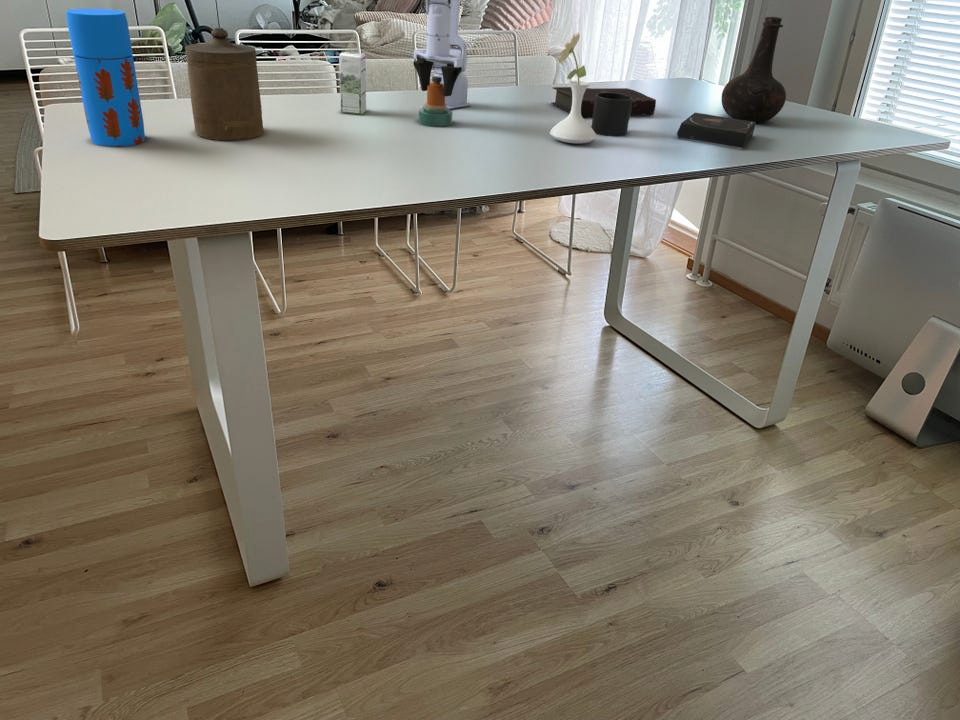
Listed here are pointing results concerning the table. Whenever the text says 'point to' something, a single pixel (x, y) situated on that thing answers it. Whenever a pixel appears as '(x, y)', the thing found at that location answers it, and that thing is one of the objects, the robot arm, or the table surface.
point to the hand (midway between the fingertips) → (436, 93)
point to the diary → (639, 100)
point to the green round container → (435, 115)
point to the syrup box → (352, 82)
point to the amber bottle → (435, 92)
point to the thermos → (106, 76)
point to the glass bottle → (757, 82)
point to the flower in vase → (574, 105)
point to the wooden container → (224, 89)
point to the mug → (611, 114)
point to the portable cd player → (716, 130)
